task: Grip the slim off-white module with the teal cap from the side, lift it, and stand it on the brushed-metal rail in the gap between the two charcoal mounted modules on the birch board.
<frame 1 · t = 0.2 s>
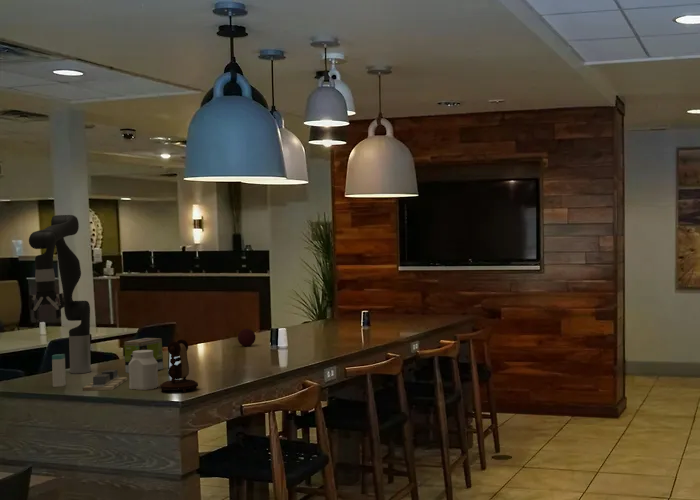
hand: (47, 319, 360), 29 cm above the table, tool pointing down, fingers open, 8 cm apart
jar: (143, 388, 355), on the table
pneumatic valve: (138, 378, 381), on the table
dark brown sculpture: (179, 390, 347), on the table
tea box: (144, 371, 403), on the table
rail board: (105, 385, 365), on the table
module: (59, 385, 366), on the table
decorative ball: (246, 346, 491), on the table
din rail: (105, 377, 365), on the rail board, point 3 cm above the table
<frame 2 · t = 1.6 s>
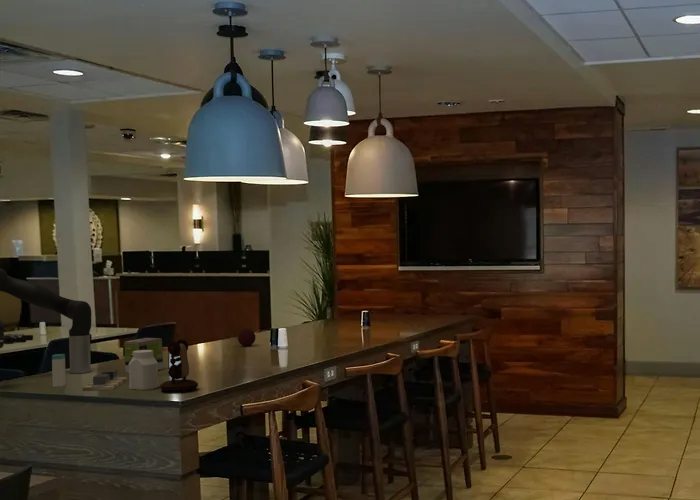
hand: (29, 338, 366), 20 cm above the table, tool horizontal, fingers open, 8 cm apart
nothing on the table moved.
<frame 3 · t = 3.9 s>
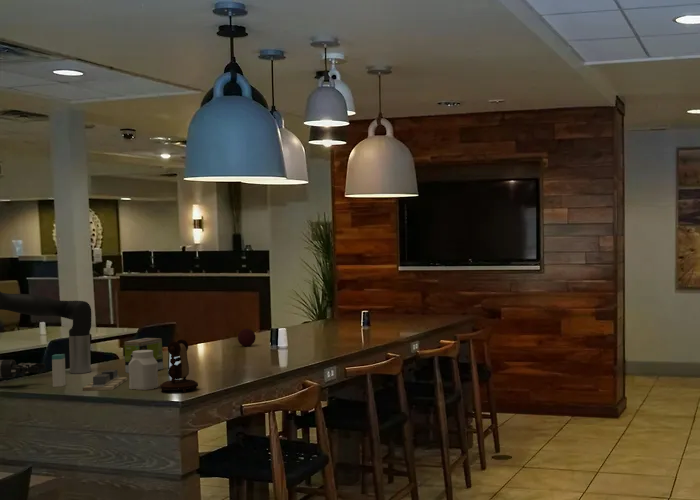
hand: (41, 367, 366), 8 cm above the table, tool horizontal, fingers open, 8 cm apart
nothing on the table moved.
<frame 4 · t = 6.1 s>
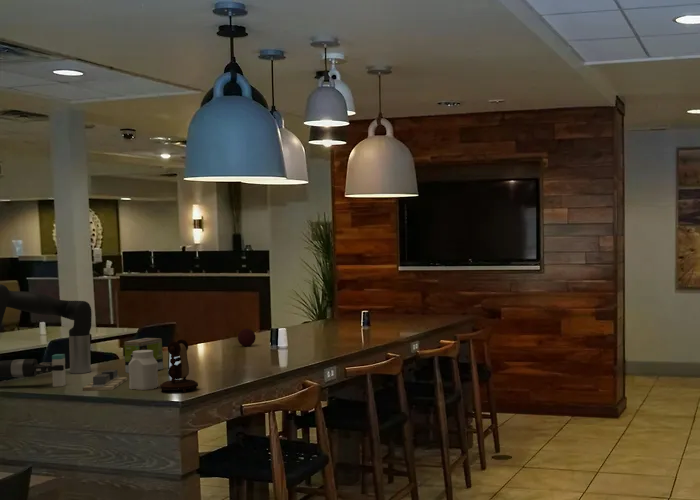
hand: (65, 366, 366), 8 cm above the table, tool horizontal, fingers closed on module, 4 cm apart
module: (59, 385, 366), on the table, touching gripper
everything else where it was.
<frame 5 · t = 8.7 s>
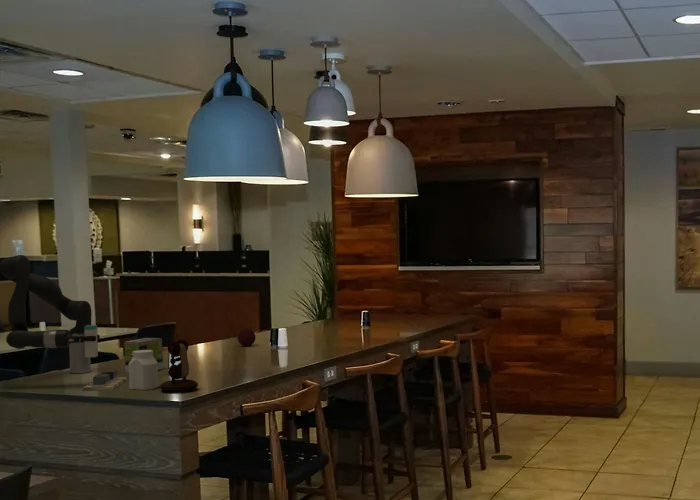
hand: (97, 337, 365), 20 cm above the table, tool horizontal, fingers closed on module, 4 cm apart
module: (91, 356, 365), point 12 cm above the table, touching gripper
everything else where it was.
when the fingers open (11 cm above the table, at t = 11.2 s): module drops 1 cm, resting on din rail.
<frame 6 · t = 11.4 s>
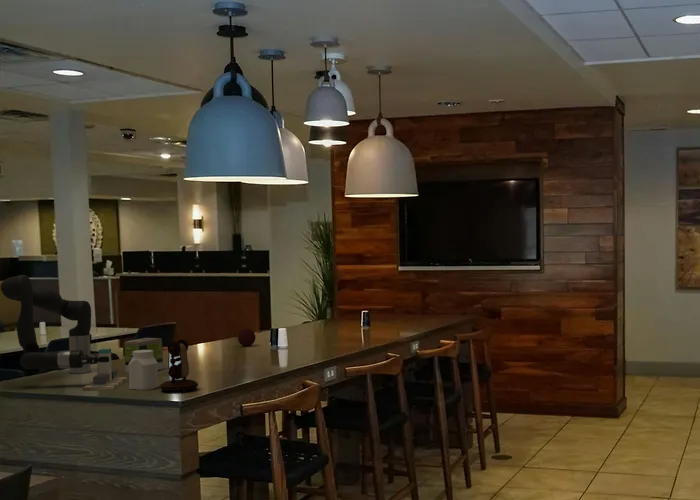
hand: (110, 358, 365), 11 cm above the table, tool horizontal, fingers open, 6 cm apart
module: (105, 380, 365), point 2 cm above the table, touching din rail
everything else where it was.
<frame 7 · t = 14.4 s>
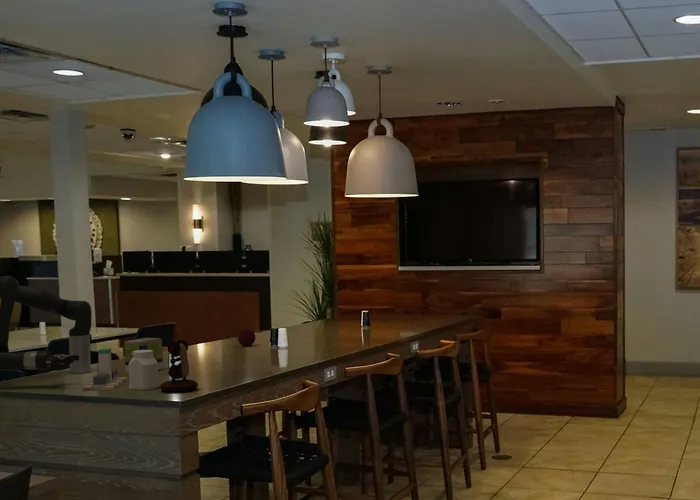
hand: (76, 359, 364), 11 cm above the table, tool horizontal, fingers open, 8 cm apart
nothing on the table moved.
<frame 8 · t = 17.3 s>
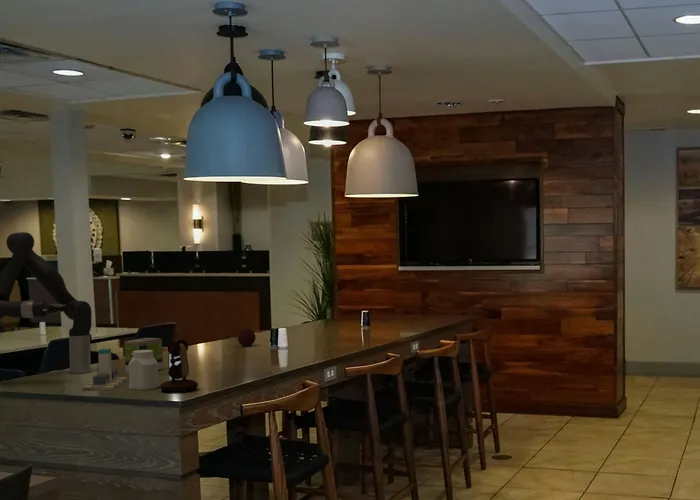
hand: (72, 308, 374), 32 cm above the table, tool horizontal, fingers open, 8 cm apart
nothing on the table moved.
at the end: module 0.1 cm off-centre on the rail board, point 2.0 cm above the rail board's base; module tilted 0°; the gripper is holding nothing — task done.
